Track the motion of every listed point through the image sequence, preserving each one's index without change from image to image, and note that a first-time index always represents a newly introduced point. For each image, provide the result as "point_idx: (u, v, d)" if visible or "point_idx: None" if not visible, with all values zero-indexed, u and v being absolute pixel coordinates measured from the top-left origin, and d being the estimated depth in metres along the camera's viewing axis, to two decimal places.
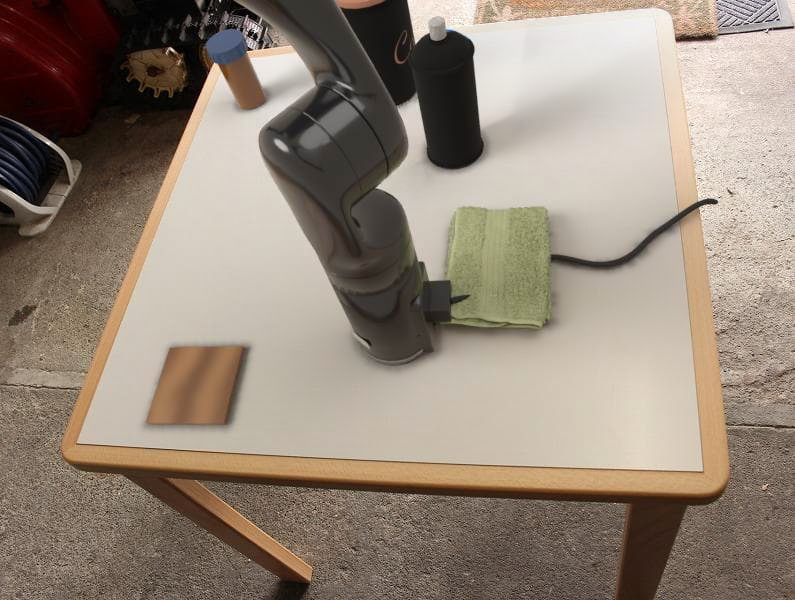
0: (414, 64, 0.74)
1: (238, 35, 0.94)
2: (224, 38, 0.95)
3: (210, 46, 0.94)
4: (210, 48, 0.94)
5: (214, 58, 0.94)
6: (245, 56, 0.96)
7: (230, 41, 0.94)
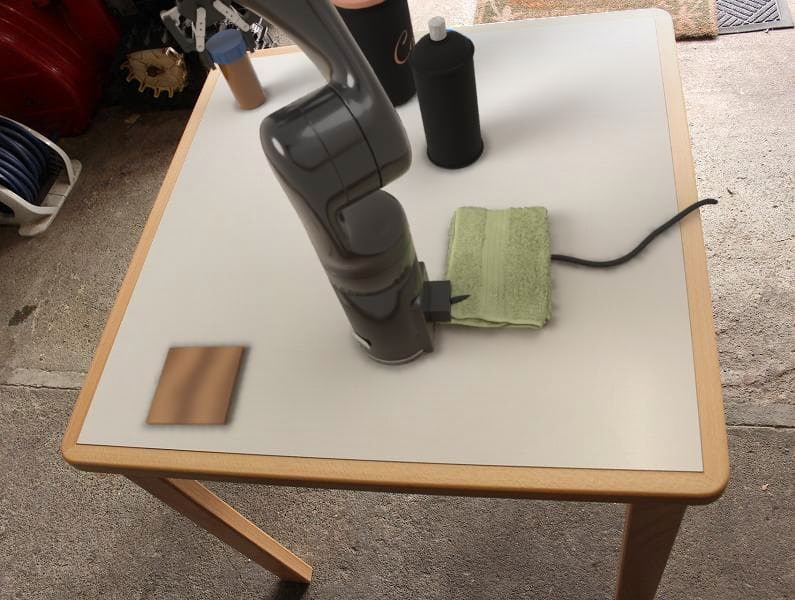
0: (414, 64, 0.74)
1: (238, 35, 0.94)
2: (224, 38, 0.95)
3: (210, 46, 0.94)
4: (210, 48, 0.94)
5: (214, 58, 0.94)
6: (245, 56, 0.96)
7: (230, 41, 0.94)
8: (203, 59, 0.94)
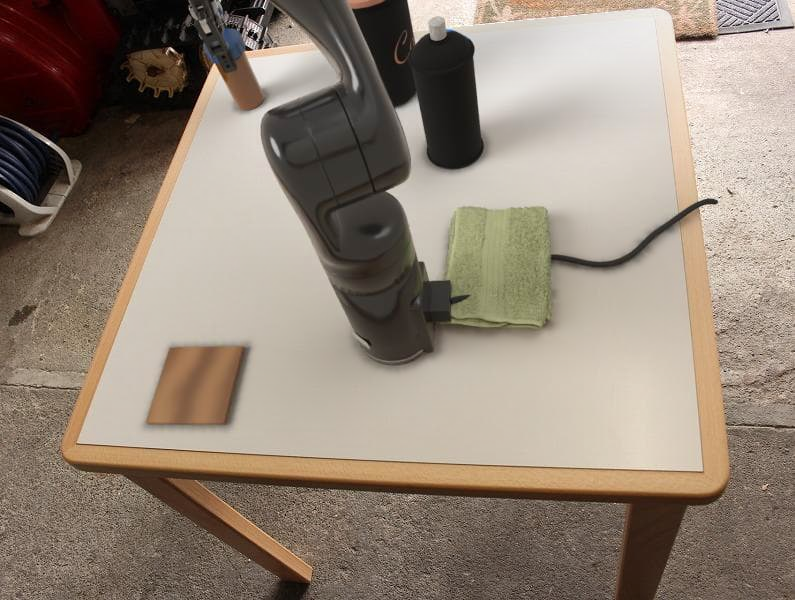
0: (414, 64, 0.74)
1: None
2: None
3: None
4: None
5: (235, 52, 0.93)
6: (243, 56, 0.96)
7: (226, 35, 0.94)
8: (230, 59, 0.92)
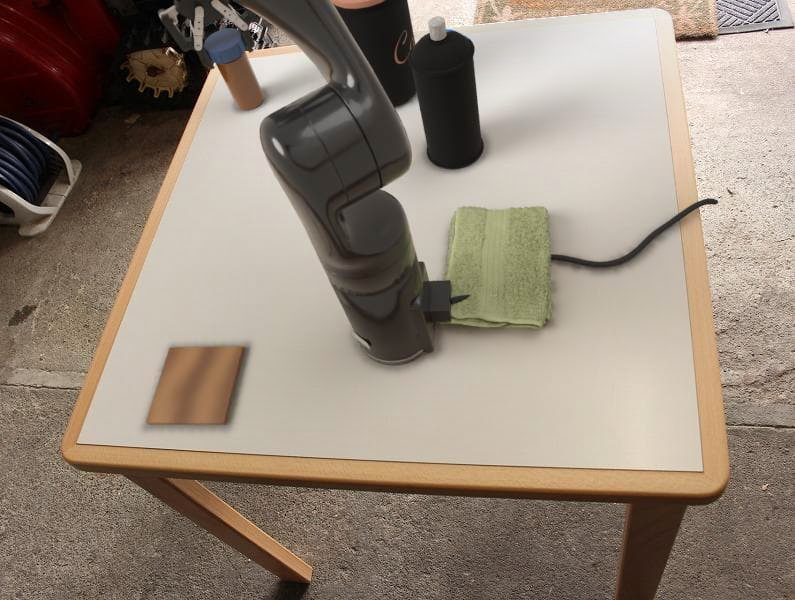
0: (414, 64, 0.74)
1: (222, 31, 0.95)
2: (218, 40, 0.94)
3: (223, 48, 0.93)
4: (226, 47, 0.93)
5: (236, 51, 0.93)
6: (244, 56, 0.96)
7: (227, 35, 0.94)
8: (201, 58, 0.94)
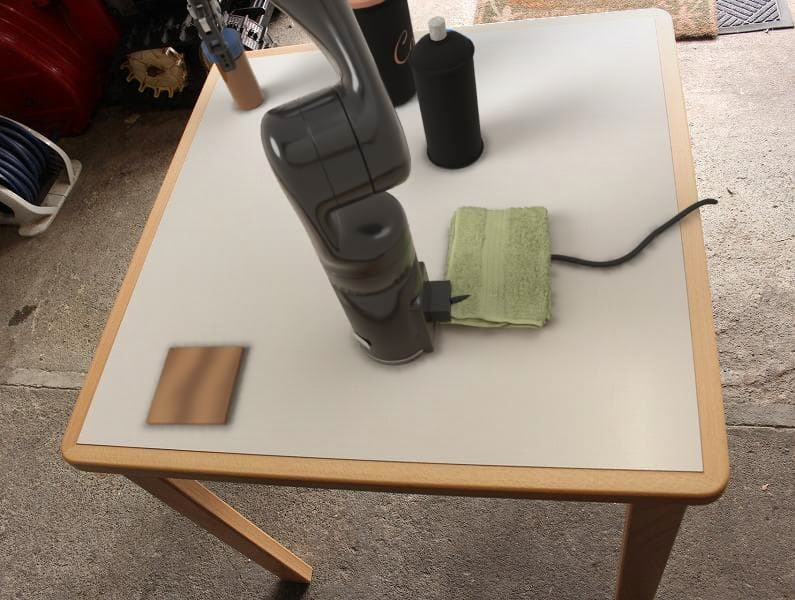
0: (414, 64, 0.74)
1: None
2: None
3: (233, 36, 0.93)
4: (234, 34, 0.94)
5: (239, 36, 0.95)
6: (243, 56, 0.96)
7: None
8: (229, 58, 0.92)
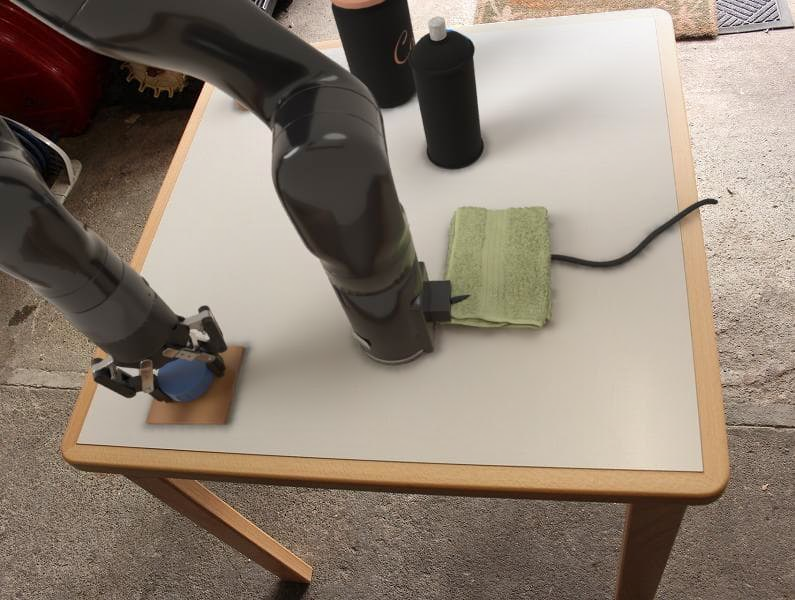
0: (414, 64, 0.74)
1: None
2: (176, 370, 0.71)
3: (181, 387, 0.69)
4: (185, 387, 0.69)
5: (199, 389, 0.70)
6: None
7: (188, 362, 0.71)
8: (154, 395, 0.70)
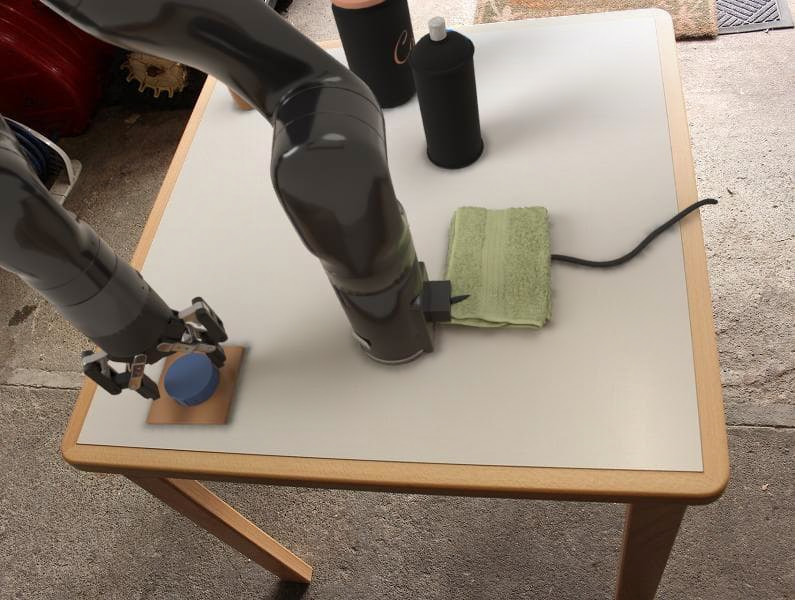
0: (414, 64, 0.74)
1: (189, 358, 0.73)
2: (183, 375, 0.72)
3: (188, 392, 0.70)
4: (192, 392, 0.70)
5: (206, 394, 0.71)
6: None
7: (195, 367, 0.72)
8: (140, 393, 0.69)
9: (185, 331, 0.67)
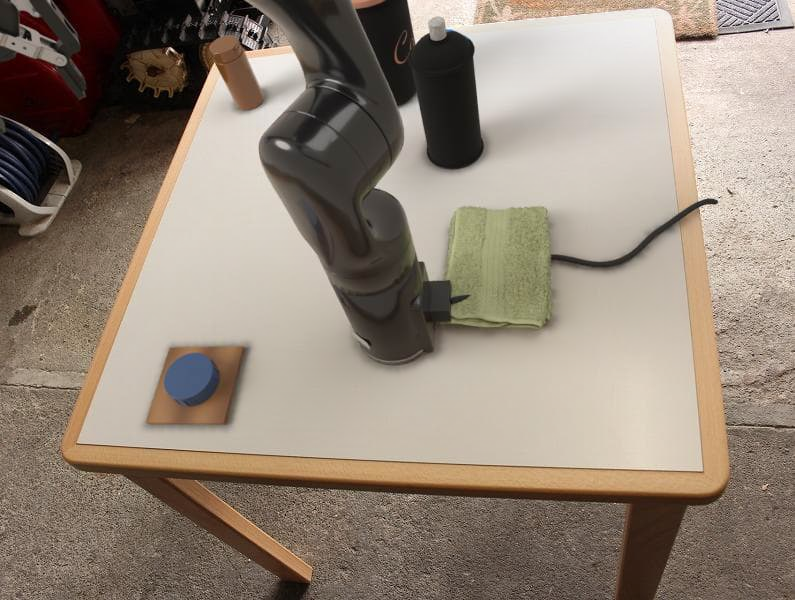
0: (414, 64, 0.74)
1: (189, 358, 0.73)
2: (183, 375, 0.72)
3: (188, 392, 0.70)
4: (192, 392, 0.70)
5: (206, 394, 0.71)
6: (243, 56, 0.96)
7: (195, 367, 0.72)
8: None
9: (28, 36, 0.57)
